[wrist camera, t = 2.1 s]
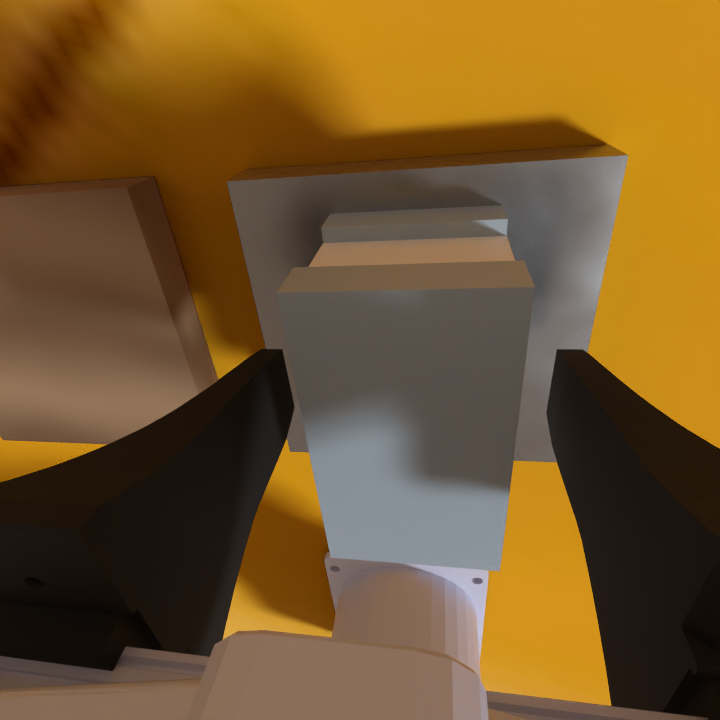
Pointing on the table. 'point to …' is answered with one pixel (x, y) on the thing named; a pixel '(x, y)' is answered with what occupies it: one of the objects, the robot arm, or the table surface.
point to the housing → (411, 381)
